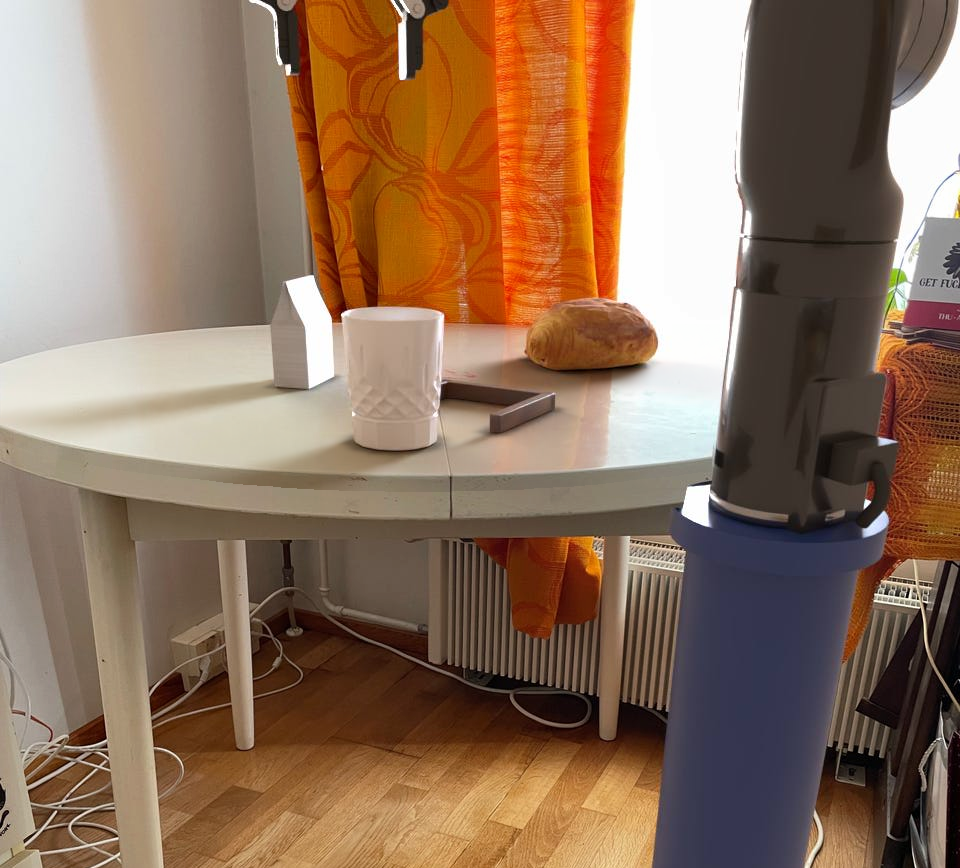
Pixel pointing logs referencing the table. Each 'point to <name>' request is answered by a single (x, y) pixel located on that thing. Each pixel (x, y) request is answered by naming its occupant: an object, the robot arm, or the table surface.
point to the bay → (502, 401)
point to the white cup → (394, 375)
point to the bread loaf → (590, 335)
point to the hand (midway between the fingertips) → (351, 77)
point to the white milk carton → (301, 336)
